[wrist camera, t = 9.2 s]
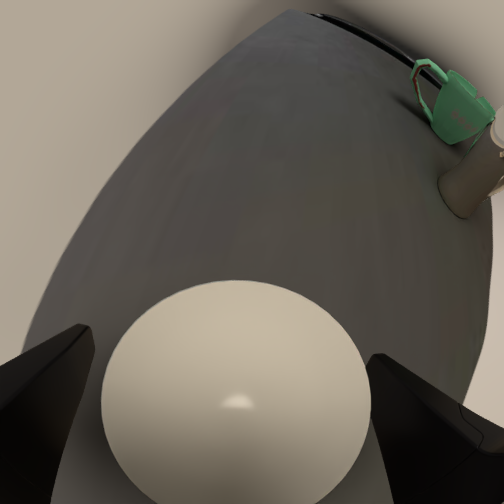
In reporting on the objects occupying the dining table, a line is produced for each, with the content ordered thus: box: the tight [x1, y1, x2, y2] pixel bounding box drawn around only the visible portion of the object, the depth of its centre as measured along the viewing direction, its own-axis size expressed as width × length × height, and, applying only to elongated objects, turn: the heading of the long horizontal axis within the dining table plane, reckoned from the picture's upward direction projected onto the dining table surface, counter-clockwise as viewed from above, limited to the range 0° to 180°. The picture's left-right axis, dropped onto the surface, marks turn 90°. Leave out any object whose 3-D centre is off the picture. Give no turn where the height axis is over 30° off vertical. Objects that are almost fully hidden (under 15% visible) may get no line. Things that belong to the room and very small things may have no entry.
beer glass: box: [438, 105, 504, 219], centre depth 19 cm, size 7×7×15 cm
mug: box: [410, 59, 496, 145], centre depth 28 cm, size 15×10×10 cm
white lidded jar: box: [101, 280, 371, 504], centre depth 9 cm, size 6×6×10 cm
